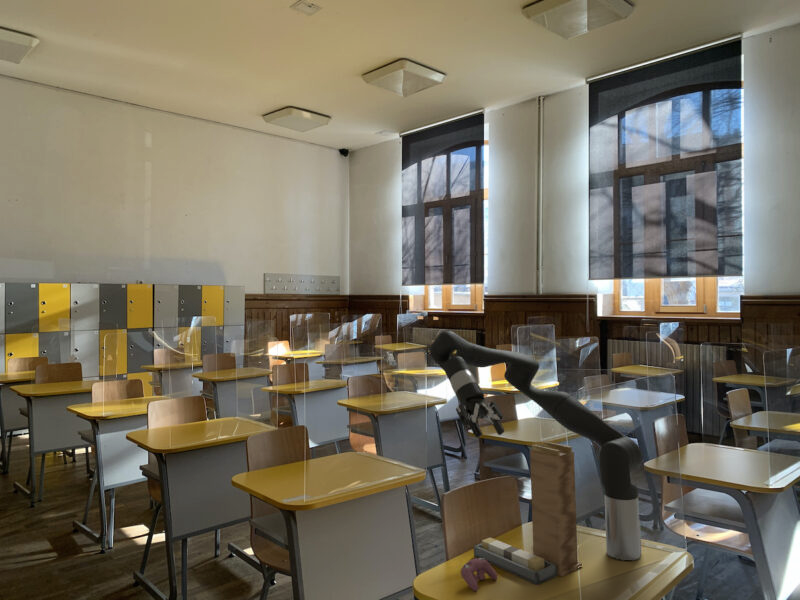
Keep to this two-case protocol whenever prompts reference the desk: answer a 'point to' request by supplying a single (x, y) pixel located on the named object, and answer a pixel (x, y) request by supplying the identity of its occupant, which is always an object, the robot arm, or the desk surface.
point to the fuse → (514, 554)
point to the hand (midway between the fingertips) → (490, 434)
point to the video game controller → (481, 568)
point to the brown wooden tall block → (554, 506)
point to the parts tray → (517, 566)
